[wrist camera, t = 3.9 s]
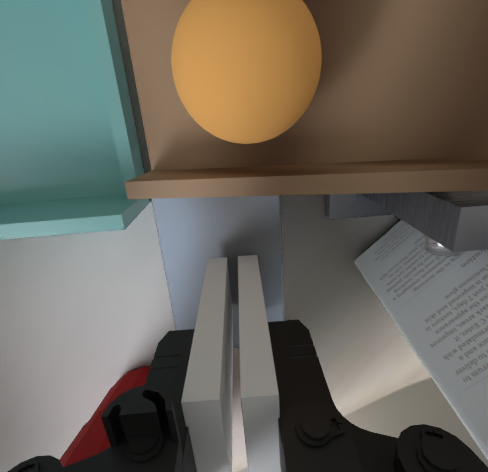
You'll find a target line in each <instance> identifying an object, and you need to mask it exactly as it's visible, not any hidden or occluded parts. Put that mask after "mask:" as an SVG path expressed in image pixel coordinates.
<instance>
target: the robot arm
mask: <svg viewBox="0 0 488 472" xmlns="http://www.w3.org/2000/svg"><path fill="white" fill-rule="evenodd" d="M238 292H239V342H240V392H241V406H242V415H243V425H244V434H245V444H246V453H247V462H248V471H249V472H488V467H487V466H486V465H485V464H484V463H483V462H482V461H481V460H480V459H479V457H478V456H477V455H476V454H475V453H474V452H473V451H472V450H471V449H470V448H469V447H468V446H467V445H465V444H464V443H463V442H462V441H461V440H459V439H458V438H457V437H456V436H454V435H452V434H450V433H448V432H447V431H445V430H443V429H441V428H438V427H433V426H429V425H424V424H423V425H413V426H410V427H408V428H407V429H405V430H403V431H402V432H401V434H400V436H399V438H395V437H390V436H386V435H381V434H378V433H373V432H369V431H367V430H364V429H361V428H359V427H357V426H355V425H354V424H352V423H350V422H349V421H348V420H347V419H345V418H344V417H343V416H342V415H341V414H340V412H339V411H338V410H337V409H336V407H335V405H334V403H333V401H332V398H331V395H330V392H329V389H328V386H327V383H326V380H325V377H324V374H323V371H322V368H321V365H320V362H319V359H318V357H317V353H316V350H315V347H314V346H313V342H312V339H311V336H310V333H309V330H308V329H307V328H306V327H305V326H304V325H303V324H302V323H301V322H300V321H299V320H287V321H274V322H267V315H266V309H265V303H264V296H263V290H262V283H261V277H260V270H259V264H258V258H257V255H248V256H238ZM232 391H233V309H232V300H231V290H230V280H229V271H228V261H227V257H223V258H210V259H208V260H207V266H206V271H205V276H204V282H203V287H202V293H201V298H200V303H199V309H198V314H197V320H196V325H195V329H187V330H175V331H169V332H168V333H167V334H166V335H165V336H164V337H163V338H162V340H161V341H160V342H159V343H158V346H157V349H156V352H155V355H154V359H153V361H152V364H151V367H150V371H149V373H148V376H147V379H146V382H145V385H143V386H139V387H135V388H131V389H130V390H128V391H126V392H124V393H122V394H120V395H119V396H118V397H117V398H116V399H114V400H113V401H112V402H111V403H110V404H109V405H108V407H107V408H106V410H105V411H104V413H103V415H102V416H101V419H102V422H103V425H104V427H105V430H106V433H107V436H108V439H109V442H110V445H111V446H110V447H109V448H107V449H106V450H104V451H102V452H100V453H98V454H96V455H94V456H91V457H89V458H86V459H84V460H81V461H79V462H76V463H73V464H71V465H68V466H66V467H63V466H62V464H61V462H60V460H58V459H56V458H54V457H52V456H37V457H34V458H31V459H29V460H26V461H24V462H21V463H20V464H18V465H17V466H15V467H14V468H12V469H11V470H9V471H8V472H232Z"/></svg>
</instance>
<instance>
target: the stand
mask: <svg viewBox="0 0 488 472" xmlns="http://www.w3.org/2000/svg"><path fill="white" fill-rule="evenodd" d="M391 214H393V215H395V216H396V217H398V218H399V219H401V220H403V221H404V222H406V223H407V224H409V225H410V226H412V227H414V228H415V229H417V230H418V231H420V232H422V233H423V234H425V235H426V236H425V243H424V249H425V250H426V251H427V252H429V253H431V254H434V255H438V256H447V257H451V256H457V255H460V254H461V251H473V250H485V249H488V190H486V191H445V192H404V193H363V194H327V197H326V216H327V218H328V219H329V220H330V219H342V218H355V217H367V216H379V215H391Z"/></svg>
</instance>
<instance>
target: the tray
mask: <svg viewBox="0 0 488 472" xmlns="http://www.w3.org/2000/svg"><path fill="white" fill-rule="evenodd" d="M143 174H144V169H143V164H142V158H141V153H140V148H139V143H138V137H137V132H136V127H135V121H134V116H133V111H132V106H131V100H130V95H129V90H128V85H127V79H126V74H125V69H124V64H123V58H122V53H121V48H120V42H119V37H118V32H117V27H116V21H115V16H114V11H113V6H112V0H0V240H3V239H15V238H27V237H39V236H51V235H64V234H76V233H88V232H100V231H112V230H125V229H126V228H127V226H128V225H129V224H130V223H131V222H132V221H133V220H134V219H135V218H136V217H137V216H138V215H139V214H140V212H141V211H142V210H143V209H144V208H145V207H146V206H147V205H148V204H149V203H150V200H149V199H128V197H127V192H126V187H125V183H124V182H125V181H128V180H130V179H133V178H135V177H138V176H140V175H143Z"/></svg>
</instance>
